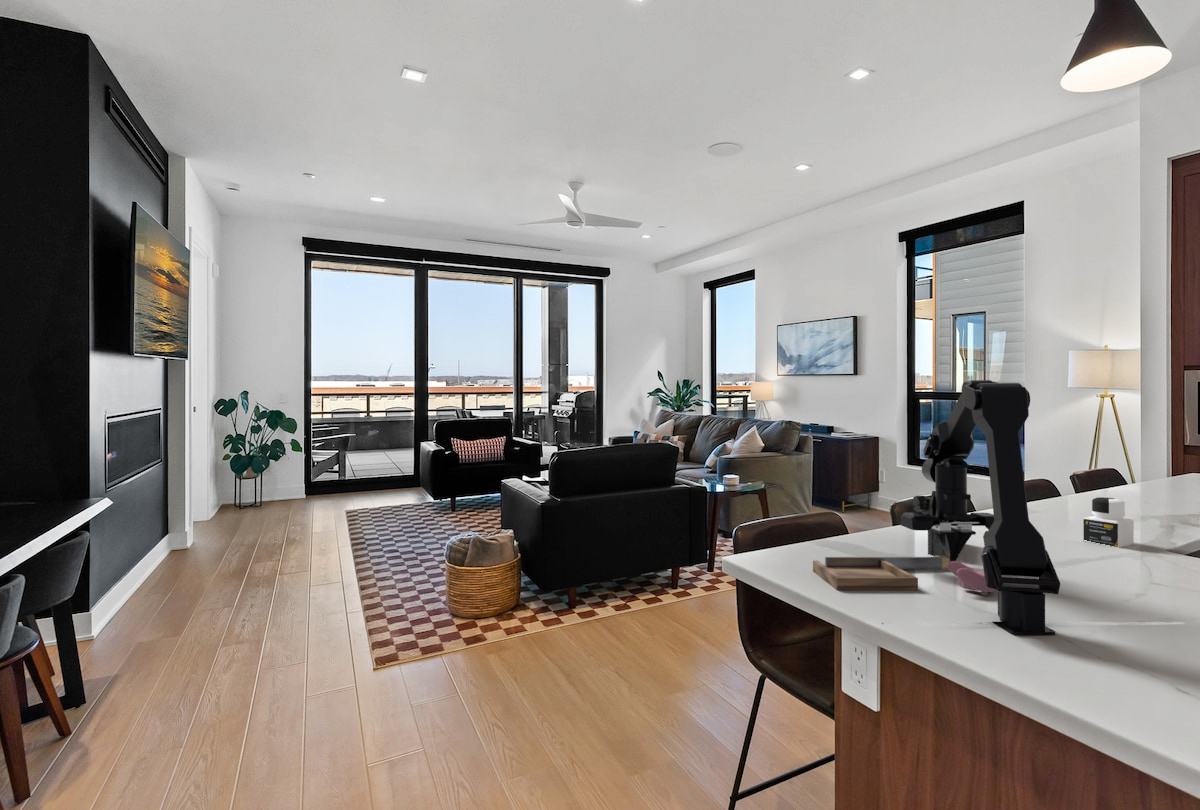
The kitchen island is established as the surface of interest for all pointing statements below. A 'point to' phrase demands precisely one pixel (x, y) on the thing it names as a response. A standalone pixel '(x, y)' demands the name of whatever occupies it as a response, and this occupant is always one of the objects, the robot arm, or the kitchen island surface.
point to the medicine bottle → (1109, 523)
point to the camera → (934, 544)
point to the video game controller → (969, 577)
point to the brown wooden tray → (867, 577)
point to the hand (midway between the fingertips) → (951, 562)
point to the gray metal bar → (899, 562)
